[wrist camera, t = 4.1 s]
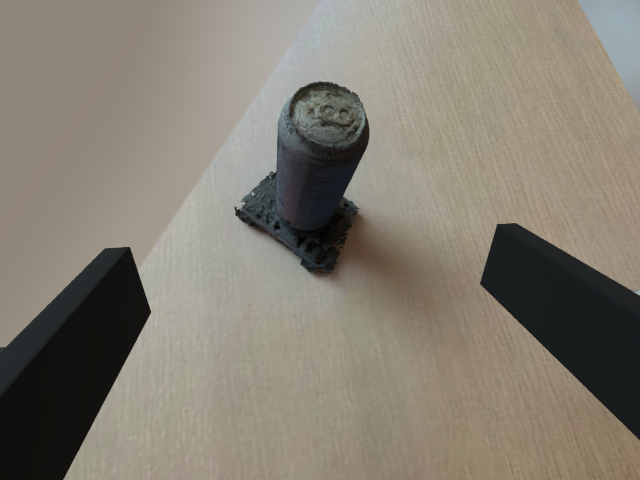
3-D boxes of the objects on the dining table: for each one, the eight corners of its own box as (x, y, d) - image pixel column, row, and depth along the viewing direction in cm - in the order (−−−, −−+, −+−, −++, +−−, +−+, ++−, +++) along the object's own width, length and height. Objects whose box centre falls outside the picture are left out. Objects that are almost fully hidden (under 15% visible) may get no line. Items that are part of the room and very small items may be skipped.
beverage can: (366, 200, 26) (428, 92, 14) (328, 282, 23) (366, 228, 12) (270, 155, 26) (257, 14, 15) (223, 230, 24) (163, 130, 12)
